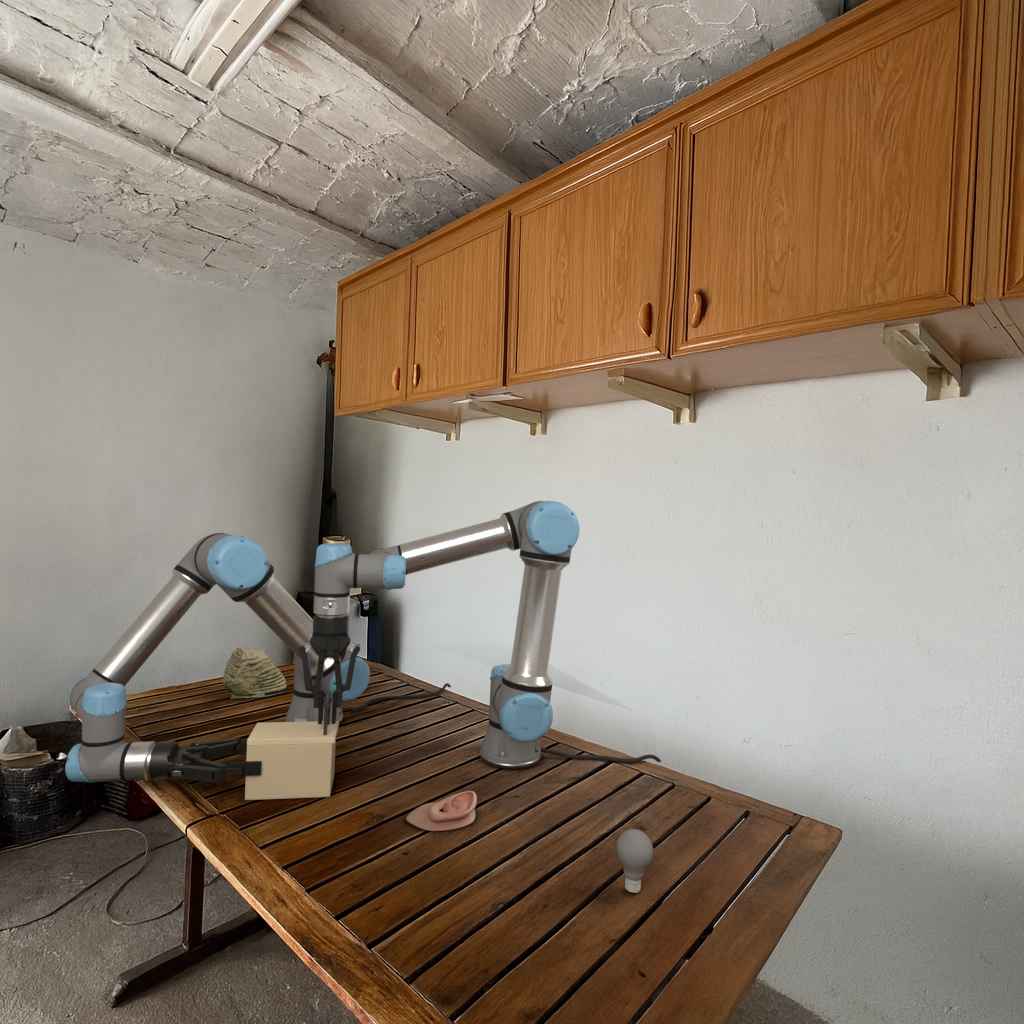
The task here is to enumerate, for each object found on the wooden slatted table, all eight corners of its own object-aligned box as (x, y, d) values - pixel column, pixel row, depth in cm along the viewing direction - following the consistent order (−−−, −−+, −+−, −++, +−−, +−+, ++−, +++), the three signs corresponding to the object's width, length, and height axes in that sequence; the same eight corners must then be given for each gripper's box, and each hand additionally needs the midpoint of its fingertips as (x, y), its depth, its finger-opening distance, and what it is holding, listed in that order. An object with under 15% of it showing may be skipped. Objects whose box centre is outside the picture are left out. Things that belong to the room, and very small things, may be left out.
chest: (334, 776, 144) (336, 726, 144) (329, 796, 134) (332, 743, 134) (255, 778, 141) (257, 728, 140) (244, 800, 131) (246, 745, 131)
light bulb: (610, 879, 108) (613, 822, 108) (644, 879, 109) (647, 822, 109) (619, 902, 102) (622, 840, 102) (655, 901, 103) (658, 840, 103)
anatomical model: (400, 806, 123) (421, 781, 134) (399, 826, 123) (420, 799, 134) (466, 816, 120) (481, 789, 131) (465, 836, 120) (481, 808, 131)
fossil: (218, 695, 195) (220, 647, 195) (278, 685, 208) (279, 640, 207) (228, 703, 189) (230, 653, 188) (289, 692, 201) (290, 645, 201)
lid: (338, 726, 144) (340, 689, 144) (334, 743, 134) (336, 704, 134) (257, 727, 140) (258, 690, 140) (246, 745, 131) (248, 705, 130)
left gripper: (172, 756, 143) (275, 753, 147) (131, 804, 121) (254, 799, 125) (173, 723, 143) (276, 721, 147) (132, 765, 121) (255, 761, 125)
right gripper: (292, 617, 133) (287, 729, 133) (366, 618, 136) (362, 727, 136) (297, 611, 140) (293, 716, 141) (367, 612, 143) (363, 715, 143)
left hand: (266, 757), depth 136 cm, fingers closed on chest, 10 cm apart
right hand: (327, 721), depth 138 cm, fingers open, 2 cm apart
